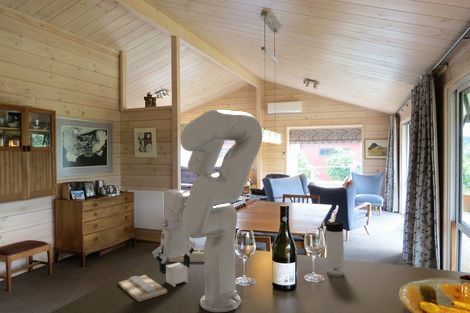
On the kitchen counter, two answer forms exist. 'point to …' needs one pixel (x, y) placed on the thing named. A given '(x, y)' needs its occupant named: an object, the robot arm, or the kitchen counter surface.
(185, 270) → the white cube
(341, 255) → the travel mug
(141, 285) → the steel rail
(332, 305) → the kitchen counter surface
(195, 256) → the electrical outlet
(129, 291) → the mounting board
